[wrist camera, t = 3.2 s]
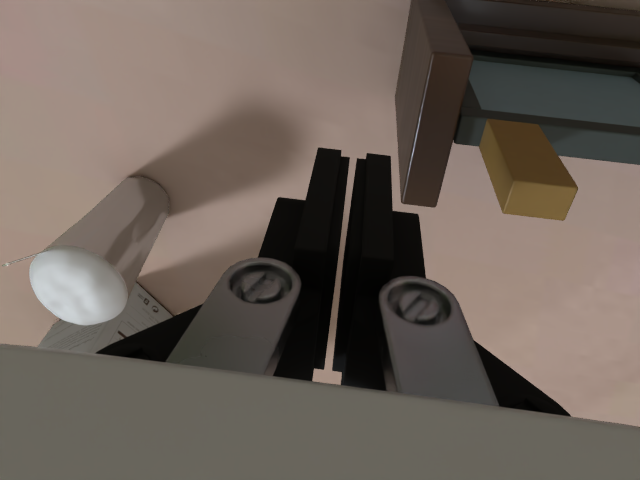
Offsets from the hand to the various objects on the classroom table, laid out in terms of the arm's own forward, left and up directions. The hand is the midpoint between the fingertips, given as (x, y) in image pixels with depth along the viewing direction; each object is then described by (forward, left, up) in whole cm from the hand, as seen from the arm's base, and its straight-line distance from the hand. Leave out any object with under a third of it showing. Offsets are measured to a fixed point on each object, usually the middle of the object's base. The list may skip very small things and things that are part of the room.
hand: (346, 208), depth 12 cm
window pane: (0, +8, -13) cm, 15 cm away
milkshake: (+10, -12, -15) cm, 22 cm away
